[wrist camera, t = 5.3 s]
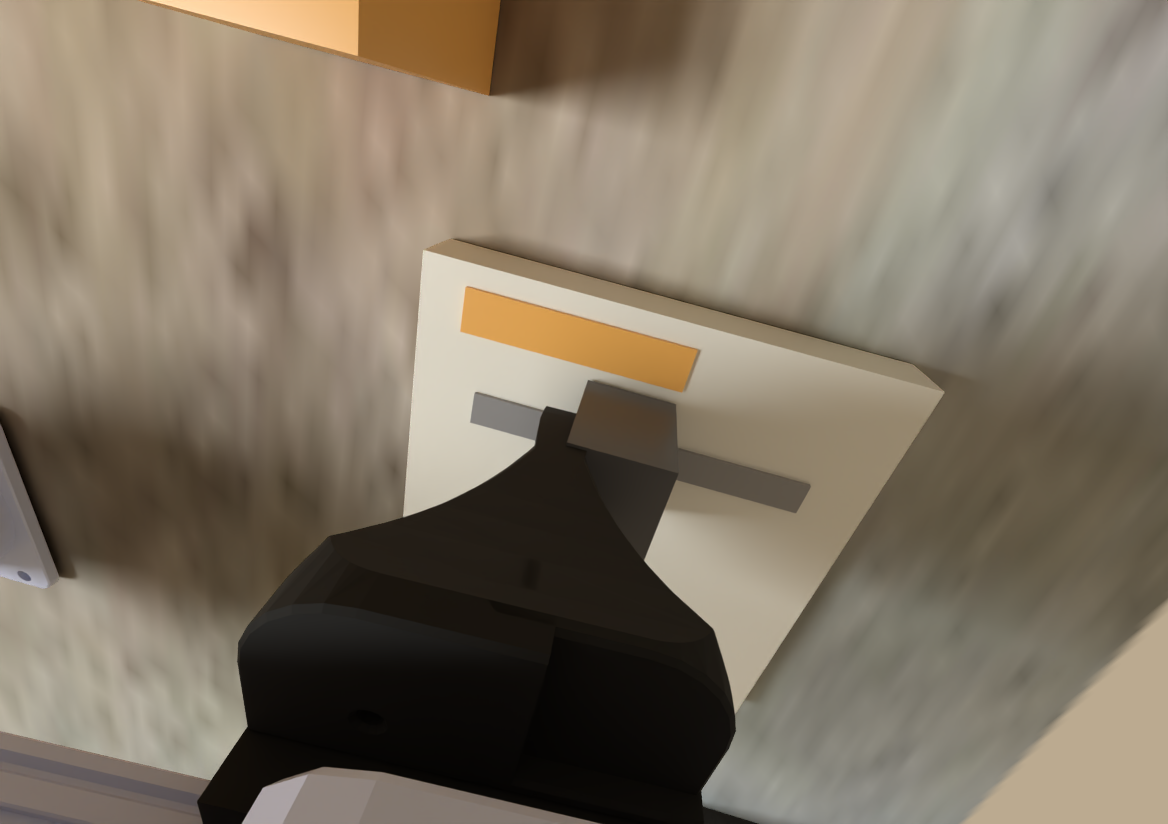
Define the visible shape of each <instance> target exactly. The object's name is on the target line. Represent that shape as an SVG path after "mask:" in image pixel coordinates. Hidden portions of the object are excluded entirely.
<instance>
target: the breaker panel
mask: <svg viewBox="0 0 1168 824" xmlns="http://www.w3.org/2000/svg"><path fill="white" fill-rule="evenodd" d="M588 380H590V381H594V382H597V383H601V384H605V385H608V386H612V387H616V388H619V389H623V390H626V391H630V392H634V393H637V394H641V395H645V396H648V397H652V398H655V399H659V400H663V401H666V402H670V403H674V404H676V415H677V441H678V467H679V474H678V477H677V479H676V482H675V484H674V487H673V489H672V492H671V494H670V497H669V499H668V502H667V504H666V507H665V509H664V512H663V514H662V517H661V519H660V522H659V524H658V527H657V529H656V532H655V534H654V537H653V539H652V542H651V544H650V547H649V549H648V552H647V554H646V557H645V559H644V561H645V562H646V564H647V565H648V566H649V567H650V568H651V569H652V570H653V571H654V573H655V574H656V575H657V576H658V577H659V578H660V579H661V580H662V581H663V582H664V583H665V584H666V585H667V587H668V588H669V589H670V590H671V591H672V592H673V593H674V594H676V595H677V596H678V597H679V598H680V599H681V600H682V601H683V602H684V603H685V604H687V605H688V606H689V607H690V608H691V609H692V610H693V611H694V612H695V613H697V614H698V615H699V616H700V617H701V618H702V619H703V620H704V621H705V622H706V623H708V624H709V625H710V626H711V627H712V628H713V629H714V631H715V635H716V638H717V641H718V644H719V648H720V651H721V654H722V658H723V661H724V664H725V668H726V671H727V675H728V679H729V682H730V687H731V692H732V698H733V704H734V711H735V714H736V712H737V711H738V709H739V708H740V706H741V705H742V703H743V702H744V700H745V698H746V697H747V695H748V694H749V692H750V691H751V689H752V688H753V686H754V685H755V683H756V682H757V680H758V679H759V677H760V675H761V674H762V672H763V671H764V669H765V668H766V666H767V665H768V663H769V662H770V660H771V659H772V657H773V656H774V654H775V652H776V651H777V649H778V648H779V646H780V645H781V643H782V642H783V640H784V639H785V637H786V636H787V634H788V632H789V631H790V629H791V628H792V626H793V625H794V623H795V622H796V620H797V619H798V617H799V616H800V614H801V613H802V611H803V609H804V608H805V606H806V605H807V603H808V602H809V600H810V599H811V597H812V596H813V594H814V593H815V591H816V590H817V588H818V586H819V585H820V583H821V582H822V580H823V579H824V577H825V576H826V574H827V573H828V571H829V570H830V568H831V567H832V565H833V563H834V562H835V560H836V559H837V557H838V556H839V554H840V553H841V551H842V550H843V548H844V547H845V545H846V543H847V542H848V540H849V539H850V537H851V536H852V534H853V533H854V531H855V530H856V528H857V527H858V525H859V524H860V522H861V520H862V519H863V517H864V516H865V514H866V513H867V511H868V510H869V508H870V507H871V505H872V504H873V502H874V501H875V499H876V497H877V496H878V494H879V493H880V491H881V490H882V488H883V487H884V485H885V484H886V482H887V481H888V479H889V478H890V476H891V474H892V473H893V471H894V470H895V468H896V467H897V465H898V464H899V462H900V461H901V459H902V458H903V456H904V454H905V453H906V451H907V450H908V448H909V447H910V445H911V444H912V442H913V441H914V439H915V438H916V436H917V435H918V433H919V431H920V430H921V428H922V427H923V425H924V424H925V422H926V421H927V419H928V418H929V416H930V415H931V413H932V412H933V410H934V408H935V407H936V405H937V404H938V402H939V401H940V399H941V398H942V396H943V395H944V393H945V392H944V391H943V390H942V389H941V388H940V387H939V386H937V385H936V384H935V383H934V382H933V381H932V380H930V379H929V378H928V377H927V376H926V375H925V374H924V373H922V372H921V371H920V370H919V369H918V368H917V367H916V366H914V365H913V364H910V363H906V362H902V361H899V360H895V359H891V358H887V357H884V356H880V355H876V354H873V353H869V352H865V351H862V350H858V349H854V348H851V347H847V346H843V345H840V344H836V343H832V342H829V341H825V340H821V339H818V338H814V337H810V336H807V335H803V334H799V333H796V332H792V331H788V330H785V329H781V328H777V327H774V326H770V325H766V324H763V323H759V322H755V321H752V320H748V319H744V318H740V317H737V316H733V315H729V314H726V313H722V312H718V311H715V310H711V309H707V308H704V307H700V306H696V305H693V304H689V303H685V302H682V301H678V300H674V299H671V298H667V297H663V296H660V295H656V294H652V293H649V292H645V291H641V290H638V289H634V288H630V287H627V286H623V285H619V284H616V283H612V282H608V281H605V280H601V279H597V278H594V277H590V276H586V275H582V274H579V273H575V272H571V271H568V270H564V269H560V268H557V267H553V266H549V265H546V264H542V263H538V262H535V261H531V260H527V259H524V258H520V257H516V256H513V255H509V254H505V253H502V252H498V251H494V250H491V249H487V248H483V247H480V246H476V245H472V244H469V243H465V242H461V241H458V240H454V239H448V240H446V241H444V242H441V243H439V244H436V245H434V246H431V247H429V248H427V249H424V250H423V261H422V274H421V288H420V301H419V314H418V327H417V341H416V354H415V367H414V380H413V393H412V407H411V420H410V433H409V446H408V460H407V473H406V486H405V499H404V513H403V517H406V516H409V515H412V514H415V513H418V512H421V511H424V510H426V509H429V508H432V507H434V506H437V505H439V504H442V503H444V502H447V501H449V500H451V499H453V498H455V497H457V496H459V495H461V494H463V493H465V492H467V491H469V490H471V489H473V488H475V487H477V486H479V485H480V484H482V483H484V482H485V481H487V480H489V479H490V478H492V477H494V476H495V475H497V474H498V473H500V472H501V471H503V470H504V469H506V468H507V467H508V466H510V465H511V464H512V463H514V462H515V461H516V460H517V459H519V458H520V457H521V456H523V455H524V454H525V453H527V452H528V451H529V450H530V449H531V448H532V447H533V446H534V445H535V440H536V435H537V431H538V426H539V421H540V417H541V415H542V413H543V411H544V409H545V407H546V406H549V407H553V408H557V409H561V410H565V411H569V412H573V413H577V411H578V408H579V405H580V402H581V399H582V396H583V393H584V390H585V387H586V384H587V381H588Z"/></svg>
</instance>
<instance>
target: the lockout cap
mask: <svg viewBox="0 0 1168 824" xmlns="http://www.w3.org/2000/svg"><path fill="white" fill-rule="evenodd" d="M139 1H142V2H146V3H149V4H153V5H156V6H160V7H163V8H167V9H170V10H174V11H178V12H181V13H185V14H188V15H192V16H195V17H199V18H202V19H206V20H209V21H213V22H217V23H220V24H224V25H227V26H231V27H234V28H238V29H241V30H245V31H248V32H252V33H255V34H259V35H263V36H267V37H270V38H274V39H278V40H282V41H285V42H289V43H293V44H297V45H301V46H304V47H308V48H312V49H316V50H319V51H323V52H327V53H331V54H334V55H338V56H342V57H346V58H349V59H353V60H357V61H361V62H364V63H368V64H372V65H376V66H379V67H383V68H387V69H391V70H394V71H398V72H402V73H406V74H409V75H413V76H417V77H421V78H424V79H428V80H432V81H436V82H439V83H443V84H447V85H451V86H454V87H458V88H462V89H466V90H469V91H473V92H477V93H481V94H484V95H488V96H489V93H490V85H491V76H492V68H493V60H494V51H495V43H496V35H497V26H498V18H499V10H500V1H501V0H139Z"/></svg>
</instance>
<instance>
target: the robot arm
mask: <svg viewBox="0 0 1168 824" xmlns="http://www.w3.org/2000/svg"><path fill="white" fill-rule="evenodd" d="M576 414H577V413H573V412H569V411H565V410H561V409H557V408H553V407H549V406H546V407H545V409H544V411H543V413H542V415H541V417H540V421H539V426H538V431H537V435H536V440H535V445H534V446H533V447H532V448H531V449H530V450H529V451H528V452H527V453H525V454H524V455H523V456H521V457H520V458H519V459H517V460H516V461H515V462H514V463H512V464H511V465H510V466H508V467H507V468H506V469H504V470H503V471H501V472H500V473H498V474H497V475H495V476H494V477H492V478H490V479H489V480H487V481H485V482H484V483H482V484H480V485H479V486H477V487H475V488H473V489H471V490H469V491H467V492H465V493H463V494H461V495H459V496H457V497H455V498H453V499H451V500H449V501H447V502H444V503H442V504H439V505H437V506H434V507H432V508H429V509H426V510H424V511H421V512H418V513H415V514H412V515H409V516H406V517H403V518H400V519H396V520H393V521H390V522H386V523H382V524H378V525H374V526H370V527H366V528H362V529H358V530H354V531H350V532H346V533H341V534H336V535H331V536H329V537H328V538H327V539H326V540H325V541H324V542H323V543H322V544H321V545H320V546H319V547H318V548H317V549H316V550H315V551H314V552H313V553H311V554H310V555H309V556H308V557H307V558H306V559H305V560H304V561H303V562H302V563H301V564H300V565H299V566H298V567H297V568H296V569H295V570H294V571H293V572H292V573H291V574H290V575H289V576H288V577H287V578H286V580H285V581H284V582H283V583H282V585H281V586H280V587H279V588H278V589H277V591H276V592H275V593H274V594H273V596H272V597H271V598H270V599H269V600H268V602H267V603H266V604H265V605H264V606H263V608H262V609H261V610H260V611H259V613H258V614H257V615H256V616H255V617H254V619H253V620H252V621H251V622H250V623H249V625H248V626H247V628H246V630H245V631H244V633H243V635H242V637H241V638H240V640H239V642H238V659H237V662H238V668H239V675H240V681H241V687H242V694H243V700H244V706H245V712H246V719H247V725H248V727H247V728H246V730H245V731H244V733H243V734H242V736H241V737H240V739H239V740H238V742H237V743H236V745H235V746H234V747H233V749H232V750H231V752H230V753H229V755H228V756H227V758H226V759H225V761H224V762H223V764H222V765H221V767H220V768H219V770H218V771H217V772H216V774H215V775H214V777H213V778H212V780H211V781H210V780H206V779H202V778H198V777H193V776H189V775H185V774H181V773H176V772H172V771H168V770H163V769H159V768H155V767H151V766H146V765H142V764H138V763H134V762H129V761H125V760H121V759H116V758H112V757H108V756H104V755H99V754H95V753H91V752H87V751H82V750H78V749H74V748H69V747H65V746H61V745H57V744H52V743H48V742H44V741H40V740H35V739H31V738H27V737H23V736H18V735H14V734H10V733H5V732H1V731H0V824H704V816H703V805H702V795H701V790H702V788H703V787H704V785H705V784H706V782H707V781H708V779H709V778H710V776H711V775H712V773H713V772H714V770H715V769H716V767H717V766H718V764H719V763H720V761H721V760H722V758H723V757H724V755H725V753H726V752H727V750H728V749H729V747H730V744H731V742H732V739H733V737H734V734H735V732H736V727H735V711H734V704H733V698H732V692H731V687H730V682H729V679H728V675H727V671H726V668H725V664H724V661H723V658H722V654H721V651H720V648H719V644H718V641H717V638H716V635H715V631H714V629H713V628H712V627H711V626H710V625H709V624H708V623H706V622H705V621H704V620H703V619H702V618H701V617H700V616H699V615H698V614H697V613H695V612H694V611H693V610H692V609H691V608H690V607H689V606H688V605H687V604H685V603H684V602H683V601H682V600H681V599H680V598H679V597H678V596H677V595H676V594H674V593H673V592H672V591H671V590H670V589H669V588H668V587H667V585H666V584H665V583H664V582H663V581H662V580H661V579H660V578H659V577H658V576H657V575H656V574H655V573H654V571H653V570H652V569H651V568H650V567H649V566H648V565H647V564H646V562H645V561H644V560H643V559H642V558H641V557H640V555H639V554H638V553H637V551H636V550H635V549H634V547H633V546H632V545H631V544H630V542H629V541H628V540H627V538H626V537H625V536H624V534H623V533H622V531H621V530H620V528H619V527H618V525H617V524H616V522H615V520H614V519H613V517H612V515H611V514H610V512H609V510H608V508H607V507H606V505H605V503H604V501H603V499H602V497H601V495H600V493H599V491H598V489H597V486H596V484H595V482H594V480H593V477H592V475H591V472H590V470H589V467H588V464H587V461H586V458H585V456H586V452H587V451H585V450H582V449H578V448H574V447H570V446H567V445H566V444H567V440H568V437H569V435H570V432H571V429H572V426H573V423H574V420H575V417H576ZM0 576H1V577H4V578H8V579H11V580H15V581H18V582H22V583H25V584H29V585H32V586H36V587H39V588H49V587H51V586H52V585H54V584H55V583H56V582H58V580H59V575H58V572H57V569H56V567H55V564H54V562H53V559H52V556H51V554H50V551H49V549H48V546H47V543H46V541H45V538H44V535H43V533H42V530H41V528H40V525H39V522H38V520H37V517H36V515H35V512H34V509H33V507H32V504H31V502H30V499H29V496H28V494H27V491H26V489H25V486H24V483H23V481H22V478H21V475H20V473H19V470H18V468H17V465H16V462H15V460H14V457H13V455H12V452H11V449H10V447H9V444H8V442H7V439H6V436H5V434H4V431H3V428H2V426H1V424H0Z"/></svg>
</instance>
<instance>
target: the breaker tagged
mask: <svg viewBox="0 0 1168 824" xmlns="http://www.w3.org/2000/svg"><path fill="white" fill-rule="evenodd" d="M566 445H567V446H570V447H574V448H578V449H582V450H585V451H587V452H586V456H585V458H586V461H587V464H588V467H589V470H590V472H591V475H592V477H593V480H594V482H595V484H596V486H597V489H598V491H599V493H600V495H601V497H602V499H603V501H604V503H605V505H606V507H607V508H608V510H609V512H610V514H611V515H612V517H613V519H614V520H615V522H616V524H617V525H618V527H619V528H620V530H621V531H622V533H623V534H624V536H625V537H626V538H627V540H628V541H629V542H630V544H631V545H632V546H633V547H634V549H635V550H636V551H637V553H638V554H639V555H640V557H641V558H642V559H643V560H644V559H645V557H646V554H647V552H648V549H649V547H650V544H651V542H652V539H653V537H654V534H655V532H656V529H657V527H658V524H659V522H660V519H661V517H662V514H663V512H664V509H665V507H666V504H667V502H668V499H669V497H670V494H671V492H672V489H673V487H674V484H675V482H676V479H677V477H678V474H679V467H678V441H677V415H676V404H674V403H670V402H666V401H663V400H659V399H655V398H652V397H648V396H645V395H641V394H637V393H634V392H630V391H626V390H623V389H619V388H616V387H612V386H608V385H605V384H601V383H597V382H594V381H590V380H588V381H587V384H586V387H585V390H584V393H583V396H582V399H581V402H580V405H579V408H578V411H577V414H576V417H575V420H574V423H573V426H572V429H571V432H570V435H569V437H568V440H567V444H566Z"/></svg>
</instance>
